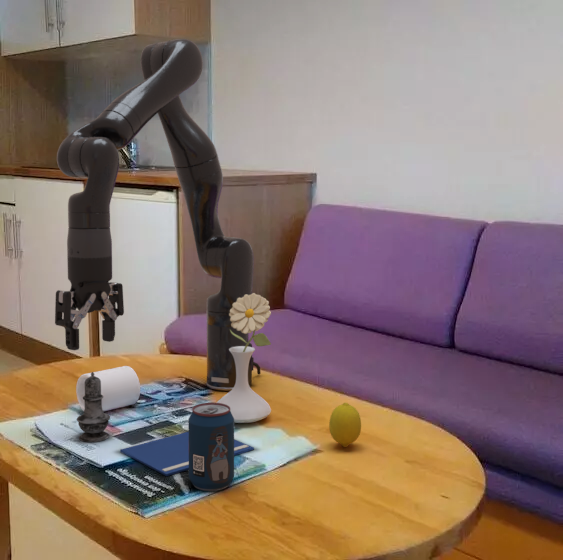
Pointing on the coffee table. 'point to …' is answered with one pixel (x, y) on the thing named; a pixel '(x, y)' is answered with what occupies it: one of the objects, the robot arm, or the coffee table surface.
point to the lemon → (345, 424)
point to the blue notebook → (170, 453)
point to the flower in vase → (247, 359)
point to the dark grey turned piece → (93, 413)
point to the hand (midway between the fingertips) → (91, 345)
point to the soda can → (211, 446)
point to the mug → (113, 387)
